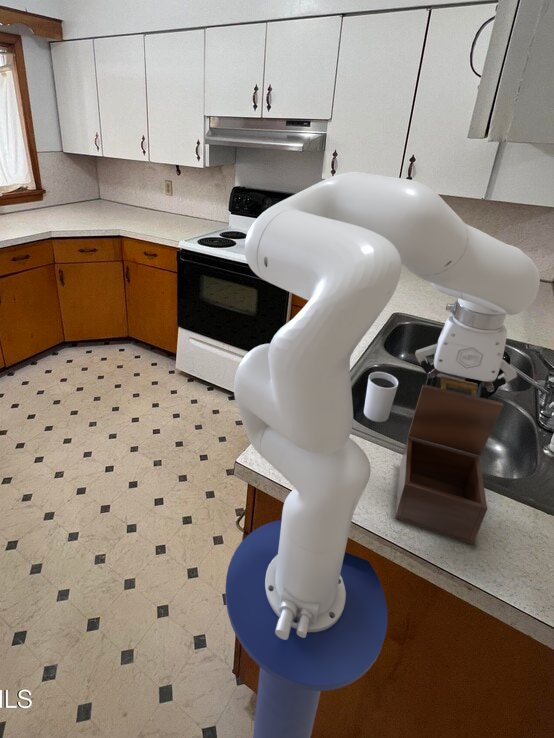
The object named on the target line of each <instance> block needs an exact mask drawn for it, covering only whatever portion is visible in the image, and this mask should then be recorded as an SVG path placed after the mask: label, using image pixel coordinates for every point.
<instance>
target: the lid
mask: <svg viewBox="0 0 554 738" xmlns="http://www.w3.org/2000/svg"><path fill="white" fill-rule="evenodd" d="M425 384H426V383H424V384H422V386H421V389H420V393H419V396H418V399H417V403H416V406H415V409H414V413H413V417H412V421H411V423H410V427H409V430H408V434H407V437H411V438H415V439H419V440H422V441H426V442H430V443H433V444H437V445H440V446H444V447H448V448H451V449H455V450H459V451H462V452H466V453H469V454H473V455H477V456H482V453H483V451H484V448H485V447H486V444H487V442H488V440H489V438H490V436H491V434H492V431H493V429H494V427H495V425H496V424H497V420H498V419H499V416H500V414H501V412H502V409H503V408H504V403H503V402H502V401H498V400H493V399H489V398H488V399H485V398H480V397H477V391H478V388H479V384H478V382H477V383H476V382H473V381H467V380H463V379H458V378H453V377H449V376H446V375H445V376H444V375H441V376H440V379H439V386H440V387H437V386H435V387H433V386H429V385H425ZM447 388H450V389H447ZM451 389H454V390H451ZM455 390H459V391H463V392H468V393H470V394H466V393H463V392H458V391H455Z"/></svg>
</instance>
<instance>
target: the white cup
mask: <svg viewBox="0 0 554 738" xmlns="http://www.w3.org/2000/svg"><path fill="white" fill-rule="evenodd" d="M398 387H399V380H398V378H397V377H395V376H394V375H392V374H390V373H387V372H384V371H374V372H371V373H370V374H369V375H368V379H367V387H366V393H365V401H364V406H363V415H364V416H365V418H367V419H368V420H370V421H372V422H376V423H383V422H387V420H388V419H389V418H390V413H391V410H392V406H393V403H394V399H395V397H396V393H397V390H398Z"/></svg>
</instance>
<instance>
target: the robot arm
mask: <svg viewBox="0 0 554 738" xmlns="http://www.w3.org/2000/svg"><path fill="white" fill-rule="evenodd" d="M244 255H245V260H246V262H247V264H248V266H249V268H250V270H251V271H252V272H253V273H254V274H255V275H256V276H257V277H259V278H260V279H261V280H263V281H265V282H267V283H269V284H271V285H274V286H276V287H278V288H280V289H282V290H285V291H287V292H289V293H292V294H293V295H295V296H297V297H300V298H302V299H303V300H306V301H307V302H306V304H305V305H304V306H303V307H302V308H301V309H300V310H299V312H298V313H297V314H296V315H294V317H293V318H292V319H291V320H289V321H287V322H285V324H284V325H283V326H281V327H280V328H279V329H278V330H277V332H276V333H275V334H274V335H273V337H272V339H271V341H270V343H264V344H259V345H258V346H255V347H253V348H252V349H251V350H249V351H248V352H246V354H245V355H244V357H243V358H242V360H241V361H240V362H239V365H238V367H237V369H236V372H235V376H234V380H233V395H234V399H235V403H236V405H237V409H238V412H239V415H240V418H241V421H242V424H243V427H244V430H245V433H246V436H247V438H248V440H249V442H250V445H251V446H252V447H253V449H254V450H255V451H256V452H257V453H258V454H259V455H260V456H261V458H263V459H264V460H265V461H266V462H267V463H268V464H269V465H270V466H272V467H273V469H275V470H276V471H277V472H278V473H279V474H281V475H282V477H283V478H284V479H285V480H286V481H287V482H288V483H289V484H290V485H292V487H293V489H292V490H291V491H290V492H289V493H288V495H287V496H286V498H285V500H284V502H283V507H282V513H281V520H282V522H281V531H280V540H279V549H278V555H276V557H275V558H274V559H273V560H272V561H271V563H270V564H269V566H268V569H267V572H266V578H265V589H266V595H267V598H268V601H269V603H270V605H271V607H272V609H273V611H274V612H275V613H276V614H277V616H278V617H279V620H278V623H277V627H276V630H275V634H276V635H277V636H278V637H279V638H281V639H283V640H287V639H288V637H289V633H290V629H291V627H293V628H295V629H297V635H298V636H300V637H302V638H305V637H306V634H307V632H319V631H323V630H326V629H328V628H330V627H331V626H332V625H334V624H335V623H336V622H337V621H338V619H339V618H340V616H341V614H342V612H343V609H344V605H345V599H346V592H345V586H344V582H343V579H342V577H341V575H340V573H341V568H342V563H343V559H344V554H345V552H346V548H347V544H348V539H349V536H350V535H349V534H350V529H351V525H352V521H353V517H354V514H355V511H356V508H357V506H358V504H359V502H360V499H361V498H362V496H363V494H364V491H365V490H366V487H367V485H368V483H369V480H370V477H371V468H372V467H371V463H370V459H369V457H368V456H367V454H366V453H365V451H364V449H362V447H361V446H360V445H359V444H358V443H357V442H355V441H354V440H353V438H351V434H352V429H353V425H354V405H353V393H352V381H351V379H352V378H351V356H352V355H353V353H354V351H355V349H356V348H357V347H358V345H359V344H360V343H361V341H362V340H363V338H364V336H365V335H366V334H367V333H368V331H369V330H370V329H371V328H372V326H373V325H374V324H375V322H376V321H377V319H378V318H379V317H380V315H381V314H382V312H383V311H384V310H385V309H386V307H387V305H388V303H389V302H390V301H391V299H392V298H393V296H394V294H395V292H396V290H397V288H398V285H399V282H400V279H401V273H402V268H404V269H405V270H407V271H408V272H409V273H411V274H413V275H414V276H415V277H418V278H419V279H422V280H423V281H427V282H429V283H430V285H431V286H432V287H433V289H435V290H437V291H439V292H440V293H442V294H445V295H448V296H450V297H452V298H457V299H456V301H455V302H453V303H448V302H447V303H446V306H445V312H449V313H451V314H449V316H448V317H447V319H446V321H445V323H444V325H443V327H442V329H441V331H440V334H439V337H438V339H437V342H436V343H434V344H431V345H428V346H425V347H423V348H422V347H421V348H420V349H416V350H415V353H414V356H415V358H416V359H417V361H418V363H419V364H420V367H421V368H422V370H423V371H424V372H425V374H426V375H427V377H426V381H425V383H424V384H425V385H429V386H433V387H436V384H437V380H438V378H437V377H438V375H439V374H441V373H444V374H448V375H453V376H457V377H461V378H466V379H471V380H476V381H480V383H479V384H478V389H477V392H476V393H477V397H480V398H485V399H489V397H490V394H491V393H492V392H494V391H495V389H497V388H501V387H502V386H505V385H506V384H507V383H509V382H511V381H512V380H514V379H516V378H517V377H518V374H517V371H516V370H515V369H514V368H513V366H511V365H510V364H509V363H508V362H507V361H506V360H504V353H505V349H506V343H507V336H508V328H506V326H505V325H504V323H505V320H506V317H507V315H509V316H514V315H518V314H520V313H522V312H524V311H525V310H527V309H528V308H529V307H530V306H531V305H532V304H533V303H534V301H535V299H536V298H537V295H538V292H539V289H540V284H541V282H540V281H541V279H540V278H541V277H540V273H539V270H538V267H537V266H536V264H535V262H534V261H533V260H532V258H531V257H529V256H528V255H527V254H526V253H524V251H522V250H521V249H520V248H518V247H517V246H514V245H511V244H507V243H506V242H504V241H502V240H499V239H498V238H496V237H493V236H491V235H489V234H488V233H485V232H483V231H482V230H480V229H478V228H476V227H474V226H471V225H469V224H467V223H465V222H464V221H463V219H462V218H461V217H460V216H459V215H458V214H457V213H456V212H455V211H454V209H452V207H451V206H450V205H448V204H447V202H446V201H445V200H444V199H443V198H442V197H441V196H440V195H439V194H438V193H437V192H436V191H435V190H434V189H432V188H431V187H430V186H428V185H427V184H424V183H422V182H420V181H417V180H414V179H409V178H403V177H395V176H388V175H381V174H376V173H375V174H374V173H369V172H362V171H348V172H344V173H340V174H336V175H333V176H331V177H328V178H325V179H324V180H321V181H319V182H317V183H315V184H312V185H311V186H309V187H307V188H305V189H303V190H301V191H299V192H297V193H294V194H293V195H291V196H289V197H287V198H285V199H283V200H281V201H279V202H277V203H275V204H273V205H272V206H270V207H268V208H266V210H264V211H263V212H261V214H259V216H257V218H256V219H255V220H254V222H253V223H252V224H251V226H250V227H249V230H248V231H247V234H246V237H245V240H244ZM432 355H433V362H432V363H430V361H429V360H428V359H427V357H429V356H432ZM500 370H501V371H502V373H501V374H499V372H500ZM270 590H271V591H270ZM331 617H332V618H331ZM294 621H296V622H297V623H296V622H294Z"/></svg>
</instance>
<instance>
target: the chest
mask: <svg viewBox="0 0 554 738" xmlns="http://www.w3.org/2000/svg"><path fill="white" fill-rule="evenodd" d="M480 456H481V455H480ZM480 456H479V455H475V454H472V453H468V452H464V451H461V450H457V449H454V448H450V447H446V446H443V445H439V444H435V443H432V442H428V441H425V440H421V439H417V438H414V437H410V436H407V438H406V441H405V445H404V450H403V454H402V456H401V461H400V465H399V469H398V478H397V490H396V502H395V503H396V504H395V505H396V506H395V515H394V519H395V520H399V521H402V522H405V523H407V524H411V525H413V526H416V527H419V528H422V529H425V530H427V531H431V532H433V533H437V534H439V535H442V536H445V537H448V538H452V539H454V540H458V541H460V542H463V543H466V544H469V545H474V543H475V541H476V538H477V536H478V533H479V531H480V529H481V526H482V524H483V521H484V519H485V516H486V514H487V511H488V504H487V499H486V498H487V496H486V491H485V490H486V489H485V484H484V477H483V470H482V464H481V457H480Z"/></svg>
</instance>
